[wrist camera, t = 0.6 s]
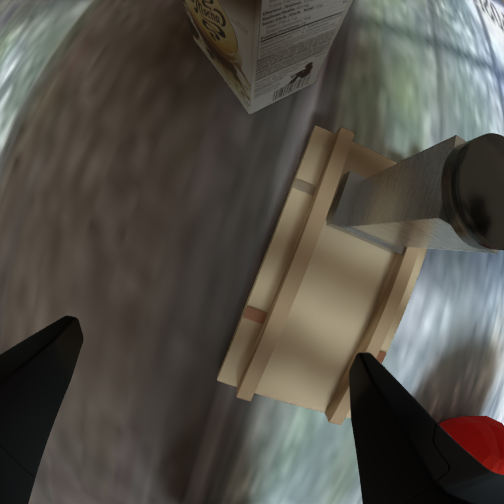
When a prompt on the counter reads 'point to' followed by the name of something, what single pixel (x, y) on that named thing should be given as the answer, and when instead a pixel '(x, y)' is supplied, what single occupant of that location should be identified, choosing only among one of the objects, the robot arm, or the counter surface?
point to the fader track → (319, 291)
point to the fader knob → (429, 199)
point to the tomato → (479, 439)
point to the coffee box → (266, 43)
